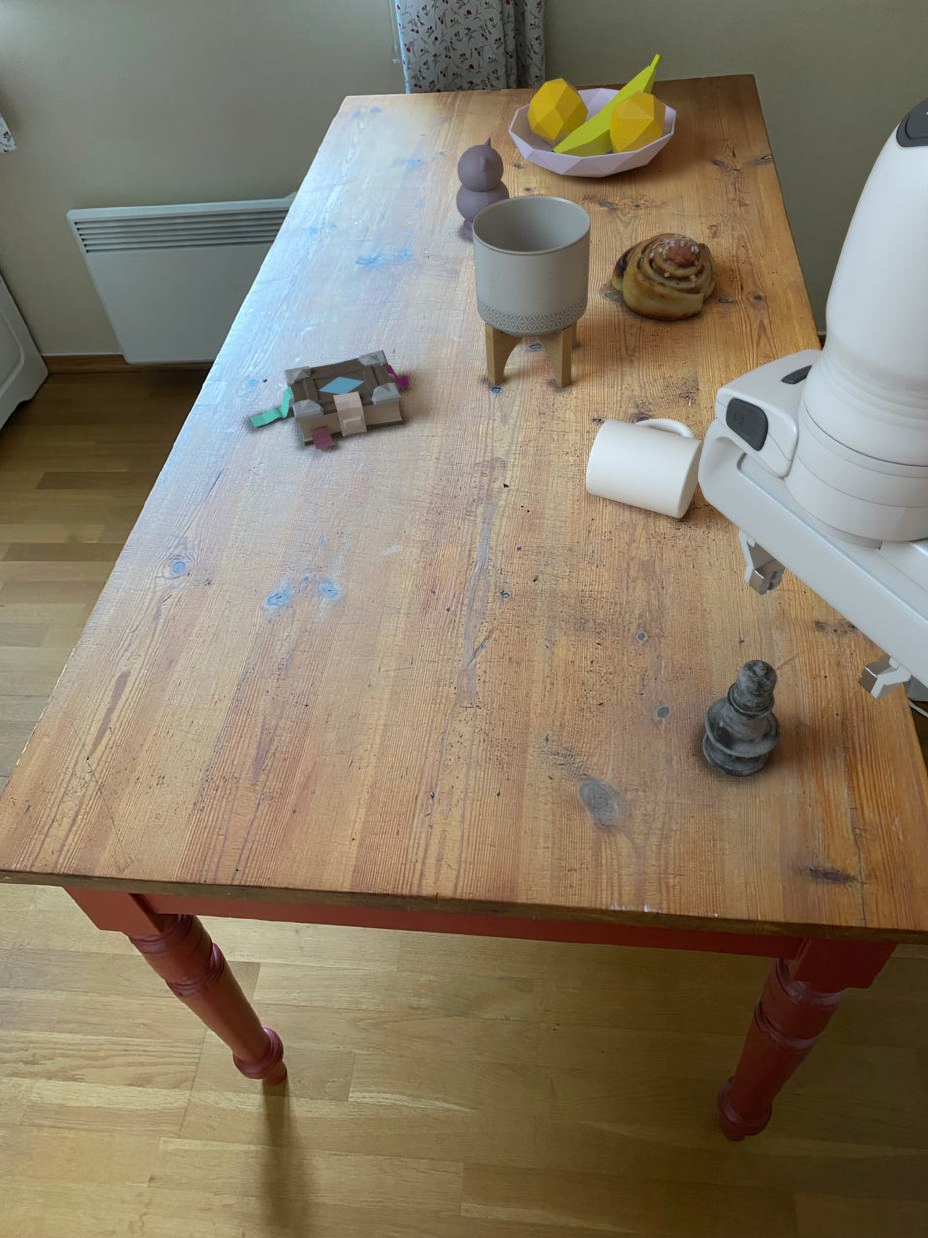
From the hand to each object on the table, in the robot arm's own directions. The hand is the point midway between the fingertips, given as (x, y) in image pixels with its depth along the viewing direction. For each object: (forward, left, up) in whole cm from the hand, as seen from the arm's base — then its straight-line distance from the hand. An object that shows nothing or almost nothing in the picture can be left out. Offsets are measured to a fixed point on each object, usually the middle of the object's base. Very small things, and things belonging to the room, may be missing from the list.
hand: (815, 633), depth 53 cm
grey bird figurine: (+49, -86, -22) cm, 101 cm away
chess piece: (+2, -5, -22) cm, 23 cm away
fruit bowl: (+38, -113, -22) cm, 121 cm away
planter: (+33, -55, -22) cm, 67 cm away
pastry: (+20, -75, -22) cm, 80 cm away
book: (+53, -39, -22) cm, 69 cm away
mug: (+15, -36, -22) cm, 45 cm away
